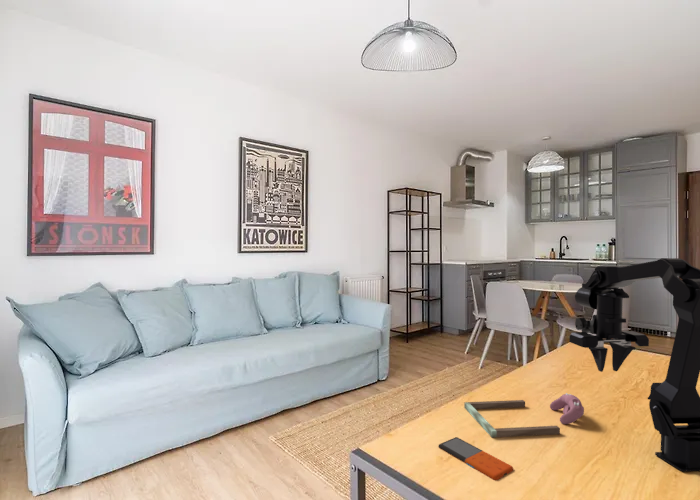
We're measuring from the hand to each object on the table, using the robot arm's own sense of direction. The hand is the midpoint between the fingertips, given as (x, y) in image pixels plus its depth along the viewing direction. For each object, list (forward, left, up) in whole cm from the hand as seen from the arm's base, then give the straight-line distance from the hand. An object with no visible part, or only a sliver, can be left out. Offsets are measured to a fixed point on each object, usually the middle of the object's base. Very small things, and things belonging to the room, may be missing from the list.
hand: (607, 371), depth 104 cm
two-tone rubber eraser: (-16, +44, -13) cm, 49 cm away
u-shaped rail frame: (0, +27, -12) cm, 30 cm away
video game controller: (0, +11, -12) cm, 17 cm away
